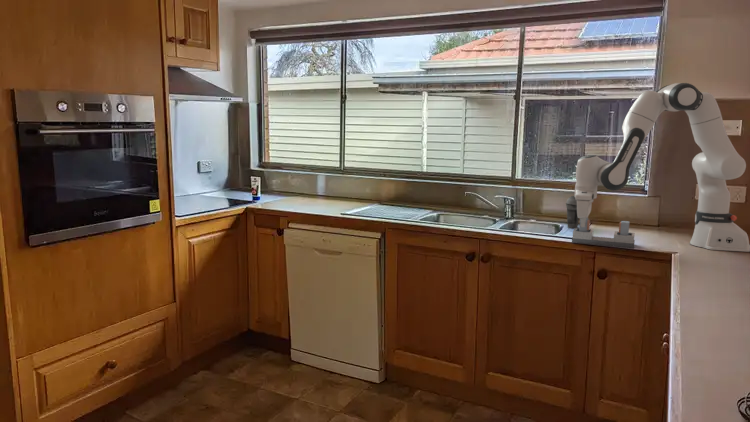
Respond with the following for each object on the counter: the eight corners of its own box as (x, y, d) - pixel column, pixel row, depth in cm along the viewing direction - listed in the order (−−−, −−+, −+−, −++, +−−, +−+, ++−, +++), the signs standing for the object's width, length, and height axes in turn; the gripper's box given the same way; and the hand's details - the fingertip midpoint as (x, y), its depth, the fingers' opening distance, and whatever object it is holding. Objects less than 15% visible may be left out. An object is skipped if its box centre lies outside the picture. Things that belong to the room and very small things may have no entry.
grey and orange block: (579, 236, 233) (580, 217, 231) (588, 236, 231) (589, 218, 230) (578, 237, 229) (579, 219, 228) (587, 238, 228) (588, 220, 226)
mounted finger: (628, 240, 224) (629, 221, 223) (627, 242, 221) (629, 223, 219) (618, 239, 226) (619, 220, 225) (618, 241, 222) (619, 222, 221)
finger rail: (634, 244, 225) (635, 232, 224) (633, 248, 218) (634, 236, 217) (574, 239, 236) (574, 227, 235) (571, 242, 229) (572, 231, 228)
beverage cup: (578, 226, 266) (580, 186, 262) (582, 229, 258) (584, 187, 255) (563, 225, 266) (565, 185, 263) (566, 228, 259) (569, 187, 256)
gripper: (580, 190, 238) (578, 221, 240) (575, 196, 220) (573, 229, 222) (595, 191, 235) (593, 222, 237) (591, 196, 217) (589, 230, 219)
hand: (583, 225), depth 229 cm, fingers open, 5 cm apart
